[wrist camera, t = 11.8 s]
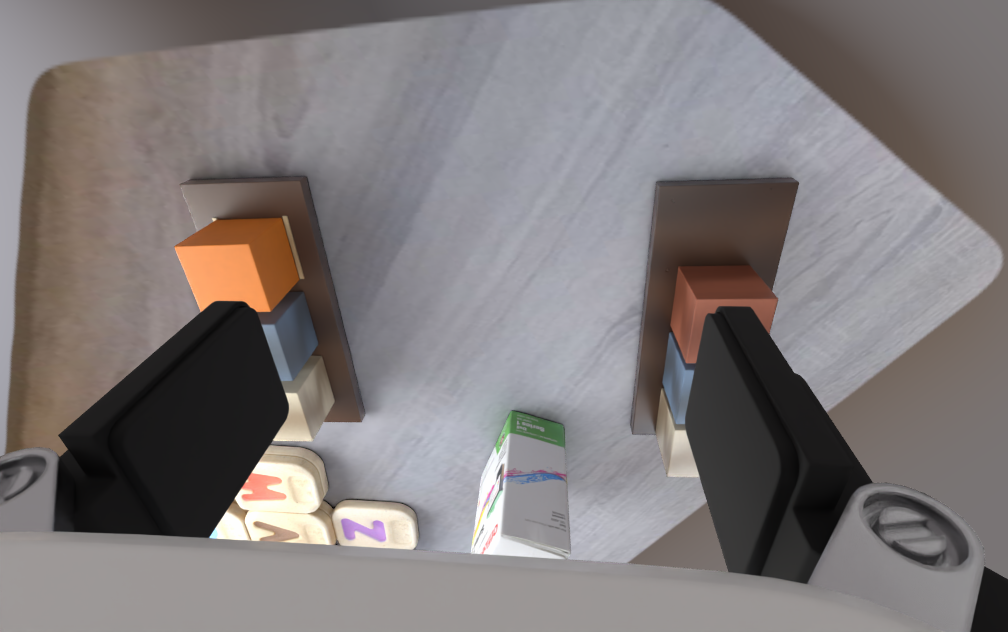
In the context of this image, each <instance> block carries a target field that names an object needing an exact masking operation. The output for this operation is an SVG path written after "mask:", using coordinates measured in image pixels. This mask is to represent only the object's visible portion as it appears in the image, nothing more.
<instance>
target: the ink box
mask: <svg viewBox="0 0 1008 632" xmlns="http://www.w3.org/2000/svg"><path fill="white" fill-rule="evenodd" d="M471 553H475V554H490V555H506V556H521V557H537V558H552V559H567V558H568V557H569V556H570V554H571V544H570V526H569V508H568V491H567V471H566V452H565V431H564V427H563V425H561V424H558V423H554V422H551V421H547V420H544V419H541V418H537V417H534V416H531V415H527V414H523V413H520V412H516V411H511V412H510V414H509V416H508V419H507V421H506V423H505V425H504V427H503V430H502V432H501V434H500V436H499V438H498V441H497V443H496V445H495V447H494V449H493V451H492V454H491V456H490V458H489V460H488V462H487V465H486V467H485V469H484V471H483V474H482V478H481V485H480V492H479V499H478V506H477V514H476V521H475V528H474V536H473V542H472V550H471Z"/></svg>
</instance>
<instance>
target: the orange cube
mask: <svg viewBox="0 0 1008 632" xmlns="http://www.w3.org/2000/svg"><path fill="white" fill-rule="evenodd" d="M175 250H176V252H177V254H178V257H179V259H180V262H181V264H182V267H183V269H184V271H185V274H186V276H187V279H188V281H189V284H190V286H191V289H192V291H193V293H194V296H195V298H196V301H197V303H198V306H199V308H200V310H201V312H202V311H203V310H204V309H205V308H206V307H208V306H209V305H210V304H211V303H213V302H214V301H244V302H246V303H247V304H248V305H249V306H250V308H253V309H255V310H256V312H271V311H272V310H273V309H274V308H275V306H276V305H277V304H278V303H279V302H280V301H281V300H282V299H283V297H284V296H285V295H286V294H287V293H288V292H289V291H290V290H291V288H292V287H293V286H294V285H295V284H296V283H297V282H298V281H299V276H298V273H297V269H296V266H295V262H294V259H293V255H292V252H291V248H290V245H289V241H288V238H287V234H286V231H285V227H284V224H283V220H282V218H260V219H231V220H215V221H214V222H212V223H210V224H209V225H207V226H206V227H204V228H203V229H201V230H199V231H198V232H196V233H195V234H193V235H192V236H190V237H188V238H187V239H185V240H184V241H182V242H181V243H179V244H177V245H176V246H175Z"/></svg>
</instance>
